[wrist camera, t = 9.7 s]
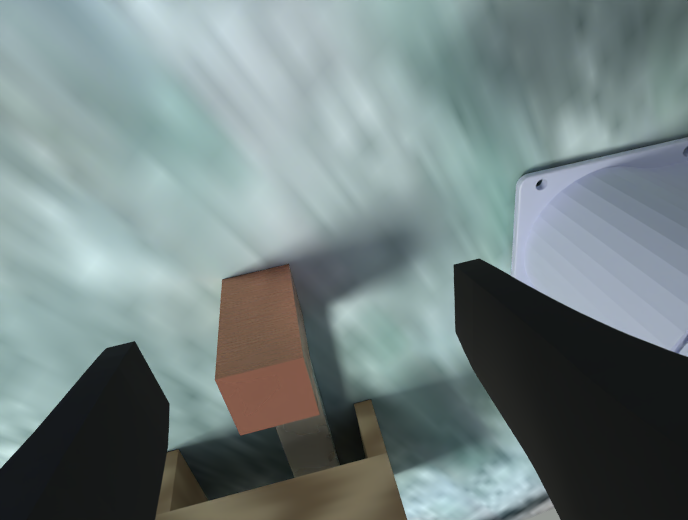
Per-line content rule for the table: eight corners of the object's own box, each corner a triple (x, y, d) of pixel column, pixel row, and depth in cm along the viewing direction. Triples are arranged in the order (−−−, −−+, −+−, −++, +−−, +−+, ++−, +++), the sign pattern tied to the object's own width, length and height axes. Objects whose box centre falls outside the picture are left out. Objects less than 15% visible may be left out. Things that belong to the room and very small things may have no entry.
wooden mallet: (288, 264, 20) (303, 357, 15) (346, 478, 30) (367, 580, 25) (222, 279, 20) (214, 380, 15) (301, 490, 29) (313, 596, 24)
